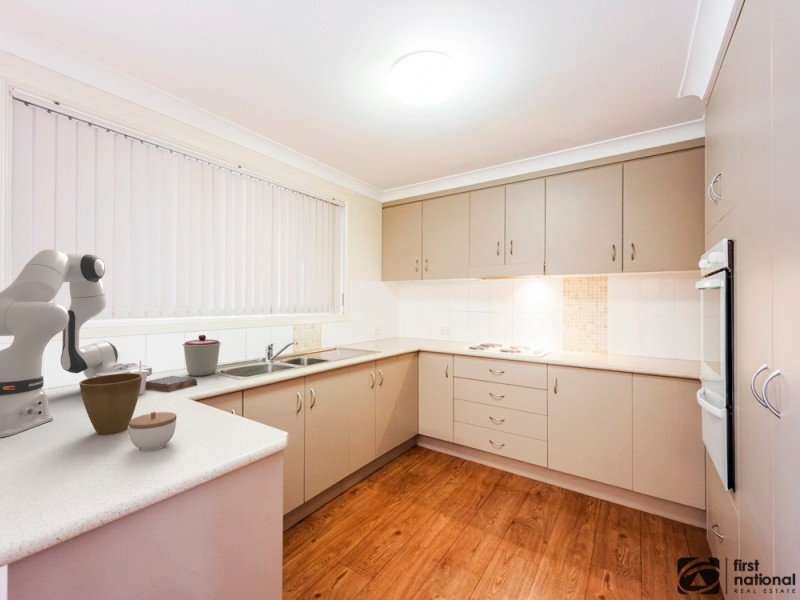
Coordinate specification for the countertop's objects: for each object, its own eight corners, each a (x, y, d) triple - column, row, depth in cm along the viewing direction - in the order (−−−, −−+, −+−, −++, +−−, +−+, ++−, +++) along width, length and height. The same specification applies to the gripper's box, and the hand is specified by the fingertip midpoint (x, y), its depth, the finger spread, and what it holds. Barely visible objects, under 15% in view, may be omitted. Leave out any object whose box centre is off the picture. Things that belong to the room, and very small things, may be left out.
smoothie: (140, 396, 148) (140, 362, 148) (125, 395, 149) (125, 362, 149) (151, 392, 155) (151, 359, 155) (137, 391, 155) (137, 359, 155)
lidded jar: (168, 436, 106) (168, 404, 106) (182, 445, 99) (182, 411, 99) (123, 447, 98) (123, 412, 98) (135, 458, 91) (135, 421, 91)
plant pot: (92, 425, 114) (92, 375, 114) (148, 420, 119) (148, 372, 119) (68, 443, 100) (68, 385, 100) (132, 436, 105) (132, 381, 105)
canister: (173, 376, 186) (174, 335, 186) (202, 370, 203) (202, 332, 203) (201, 379, 181) (201, 336, 181) (228, 372, 198) (228, 333, 198)
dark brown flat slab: (168, 391, 155) (168, 384, 155) (142, 388, 161) (142, 381, 161) (196, 384, 168) (196, 378, 168) (172, 381, 174) (172, 375, 174)
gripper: (87, 370, 147) (109, 373, 142) (139, 362, 166) (160, 364, 161) (87, 386, 147) (109, 389, 142) (139, 376, 166) (160, 378, 161)
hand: (137, 376), depth 152 cm, fingers open, 8 cm apart
